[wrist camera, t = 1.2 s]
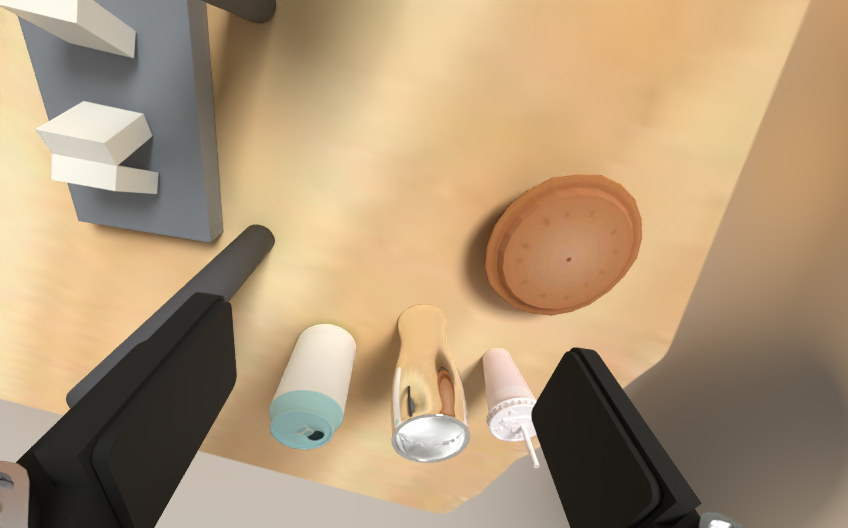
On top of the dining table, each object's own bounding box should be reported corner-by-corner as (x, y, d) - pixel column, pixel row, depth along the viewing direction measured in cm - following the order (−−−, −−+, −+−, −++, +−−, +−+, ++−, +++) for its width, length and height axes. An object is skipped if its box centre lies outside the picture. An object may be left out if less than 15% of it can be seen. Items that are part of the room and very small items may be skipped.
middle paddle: (152, 135, 26) (116, 166, 23) (96, 124, 25) (52, 154, 22) (143, 113, 25) (104, 143, 22) (83, 100, 24) (35, 129, 21)
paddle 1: (134, 58, 23) (76, 23, 19) (69, 43, 22) (-6, 3, 18) (135, 31, 23) (77, -11, 18) (70, 14, 22) (-5, -33, 18)
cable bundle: (274, 253, 34) (140, 428, 17) (244, 248, 34) (75, 423, 17) (274, 227, 33) (129, 389, 16) (243, 222, 33) (57, 382, 15)
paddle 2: (156, 194, 28) (115, 191, 23) (104, 184, 27) (51, 179, 23) (158, 172, 27) (116, 165, 23) (105, 162, 27) (52, 153, 22)
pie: (523, 139, 30) (543, 149, 26) (651, 198, 34) (688, 215, 29) (454, 273, 37) (461, 298, 33) (567, 310, 41) (587, 338, 36)
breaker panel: (223, 232, 33) (210, 242, 31) (101, 211, 31) (78, 220, 29) (204, -16, 24) (184, -26, 22) (30, -64, 22) (-11, -80, 20)
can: (360, 324, 40) (344, 411, 29) (352, 366, 43) (336, 457, 33) (300, 316, 39) (262, 402, 28) (297, 358, 42) (262, 450, 31)
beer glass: (395, 346, 42) (391, 467, 29) (392, 302, 38) (385, 415, 25) (449, 343, 42) (470, 462, 29) (451, 299, 39) (475, 410, 25)
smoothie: (506, 379, 46) (543, 487, 34) (464, 369, 44) (487, 478, 32) (528, 346, 43) (577, 451, 31) (484, 335, 42) (517, 440, 29)
